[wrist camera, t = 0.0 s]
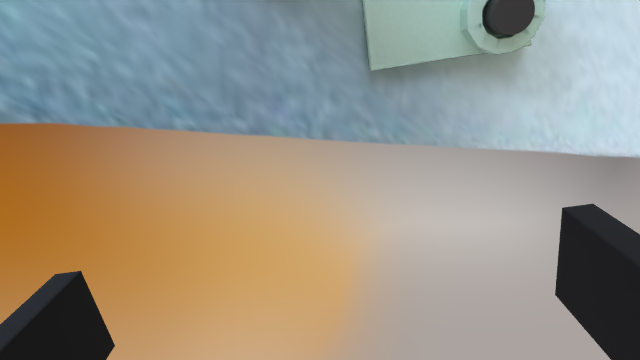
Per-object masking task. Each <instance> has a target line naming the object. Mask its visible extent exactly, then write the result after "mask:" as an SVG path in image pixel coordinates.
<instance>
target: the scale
mask: <svg viewBox="0 0 640 360" xmlns="http://www.w3.org/2000/svg"><path fill="white" fill-rule="evenodd" d="M490 1H491V0H362V2H363V12H364V21H365V30H366V40H367V49H368V59H369V68H370V70H371V71H374V70H381V69H387V68H393V67H399V66H406V65H412V64H418V63H424V62H431V61H437V60H443V59H449V58H456V57H462V56H468V55H474V54H481V53H490V54H501V53H508V52H514V51H516V50H518V49H519V48H520V47H525V46H530V45H531V39H532V38H533V37H534V36H535V34H536V32H537V30H538V28H539V27H540V25H541V23H542V21H543V19H544V12H545V0H533V1H534V4H535V13H534V17H533V19H532V21H531V23H530V24H529V26H528V27H527V28H526V29H525V30H523V31H522V32H520V33H518V34H515V35H498V34H495V33H493V32H491V31H490V30H489V29H488V28H487V26H486V23H485V18H484V16H485V10H486V7H487V5H488V4H489V2H490Z"/></svg>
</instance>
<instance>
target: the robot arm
mask: <svg viewBox="0 0 640 360" xmlns="http://www.w3.org/2000/svg"><path fill="white" fill-rule="evenodd" d="M555 295H556V296H557V297H558V298H559V299H560V301H561V302H562V303H563V304H564V305H565V306H566V308H567V309H568V310H569V311H570V312H571V313H572V315H573V316H574V317H575V318H576V319H577V320H578V322H579V323H580V324H581V325H582V326H583V327H584V329H585V330H586V331H587V332H588V333H589V334H590V335H591V337H592V338H593V339H594V340H595V341H596V343H597V344H598V345H599V346H600V347H601V348H602V350H603V351H604V352H605V353H606V354H607V355H608V357H609V358H610V359H611V360H640V235H639V234H638V233H637V232H635V231H633V230H632V229H631V228H629V227H627V226H626V225H624V224H623V223H621V222H620V221H618V220H617V219H615V218H614V217H612V216H611V215H609V214H608V213H606V212H605V211H603V210H602V209H600V208H599V207H597V206H596V205H594V204H588V205H581V206H573V207H565V208H562V219H561V231H560V244H559V255H558V267H557V279H556V293H555ZM114 346H115V345H114V343H113V340H112V338H111V336H110V334H109V332H108V330H107V327H106V325H105V323H104V321H103V319H102V316H101V314H100V312H99V310H98V308H97V305H96V303H95V301H94V299H93V297H92V294H91V292H90V290H89V288H88V286H87V283H86V281H85V279H84V277H83V275H82V272H81V271H77V272H70V273H62V274H55V275H54V276H53V277H52V278H51V279H50V280H49V281H47V282H46V283H45V284H44V285H43V286H42V287H41V288H40V289H39V290H38V291H36V292H35V293H34V294H33V295H32V296H31V297H30V298H29V299H28V300H27V301H26V302H25V303H24V304H22V305H21V306H20V307H19V308H18V309H17V310H16V311H15V312H14V313H12V314H11V315H10V316H9V317H8V318H7V319H6V320H5V321H4V322H3V323H2V324H0V360H106V359H107V357H108V356H109V354H110V352H111V351H112V349H113V348H114Z"/></svg>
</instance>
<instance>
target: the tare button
mask: <svg viewBox="0 0 640 360" xmlns="http://www.w3.org/2000/svg"><path fill="white" fill-rule="evenodd" d="M534 13H535V4H534V1H533V0H491V1H490V2H489V4H488V5H487V7H486V10H485V16H484V18H485V23H486V26H487V28H488V29H489V30H490V31H491V32H493V33H495V34H498V35H515V34H518V33H520V32H522V31H523V30H525V29H526V28H527V27H528V26H529V24H530V23H531V21H532V19H533V17H534Z"/></svg>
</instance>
